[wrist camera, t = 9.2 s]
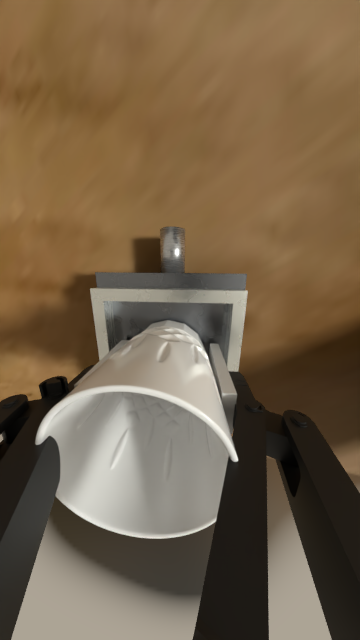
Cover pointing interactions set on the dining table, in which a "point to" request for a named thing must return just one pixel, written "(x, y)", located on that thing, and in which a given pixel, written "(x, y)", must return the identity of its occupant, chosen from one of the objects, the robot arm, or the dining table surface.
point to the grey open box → (171, 302)
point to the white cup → (144, 438)
